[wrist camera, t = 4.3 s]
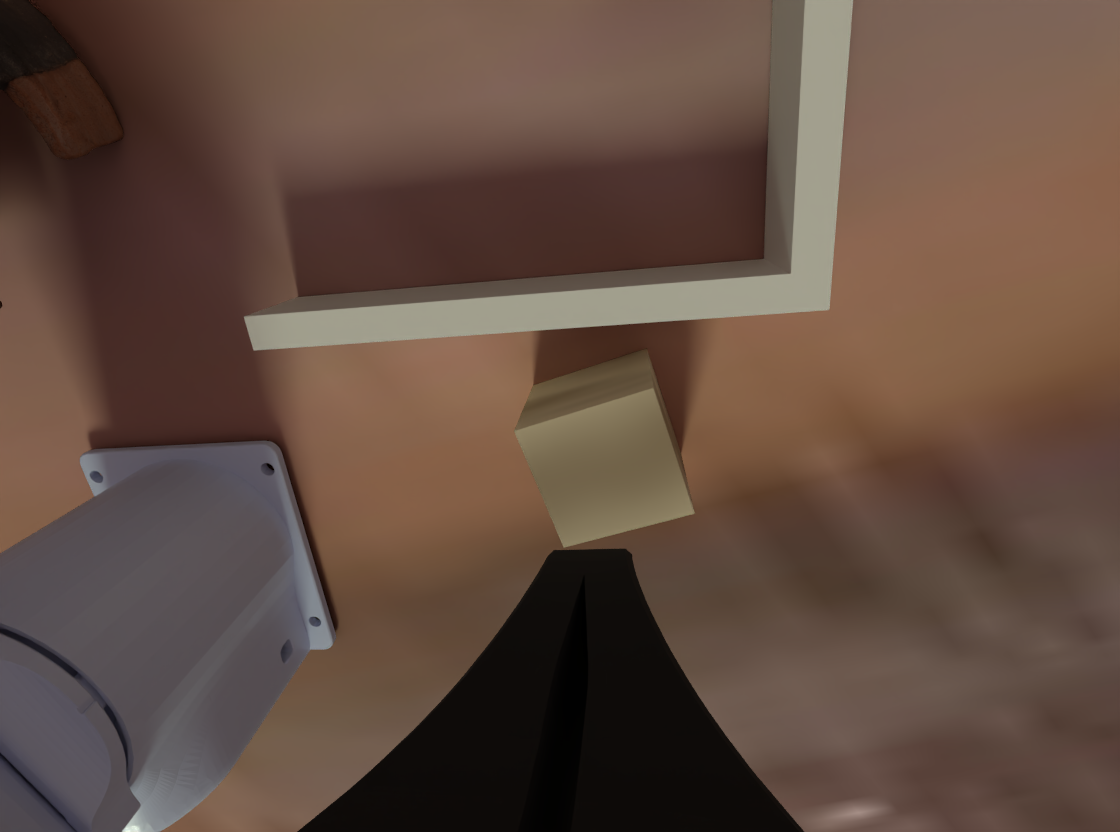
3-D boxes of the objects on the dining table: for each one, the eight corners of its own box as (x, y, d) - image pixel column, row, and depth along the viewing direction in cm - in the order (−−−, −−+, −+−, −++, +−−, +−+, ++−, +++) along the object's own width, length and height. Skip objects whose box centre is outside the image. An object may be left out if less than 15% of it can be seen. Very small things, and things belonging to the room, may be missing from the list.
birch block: (681, 452, 20) (694, 513, 17) (573, 483, 21) (563, 547, 17) (646, 347, 19) (653, 387, 15) (533, 384, 20) (514, 431, 16)
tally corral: (796, 289, 18) (829, 310, 15) (305, 326, 20) (253, 350, 17) (839, -497, 12) (907, -702, 9) (134, -334, 14) (13, -462, 11)
